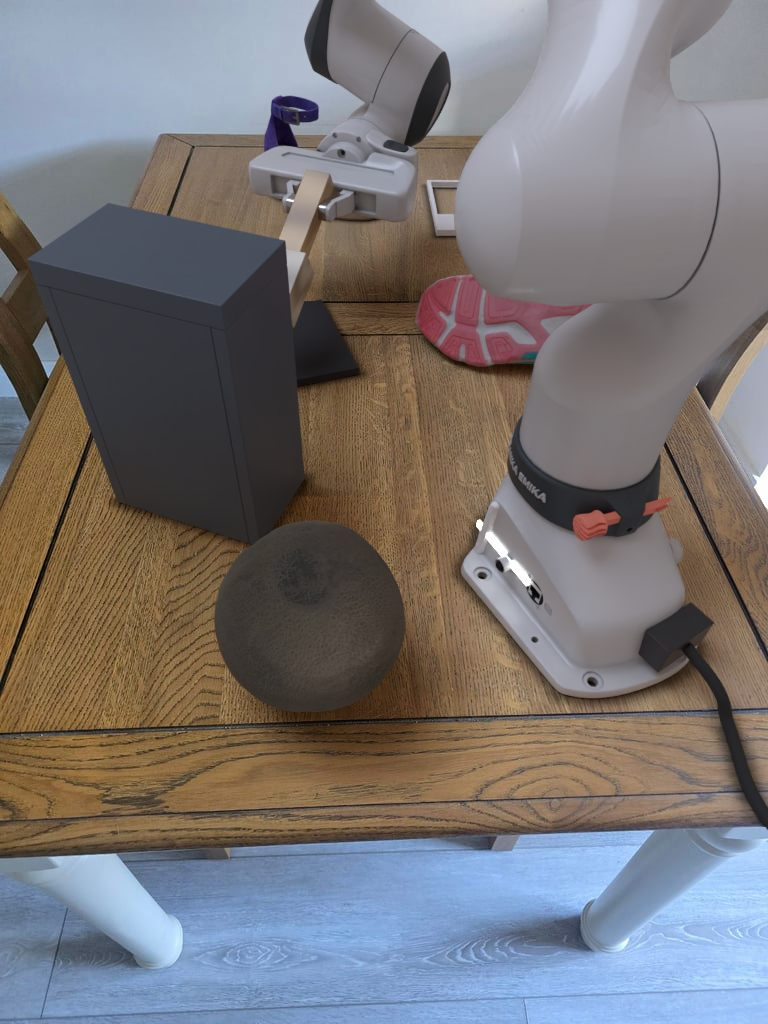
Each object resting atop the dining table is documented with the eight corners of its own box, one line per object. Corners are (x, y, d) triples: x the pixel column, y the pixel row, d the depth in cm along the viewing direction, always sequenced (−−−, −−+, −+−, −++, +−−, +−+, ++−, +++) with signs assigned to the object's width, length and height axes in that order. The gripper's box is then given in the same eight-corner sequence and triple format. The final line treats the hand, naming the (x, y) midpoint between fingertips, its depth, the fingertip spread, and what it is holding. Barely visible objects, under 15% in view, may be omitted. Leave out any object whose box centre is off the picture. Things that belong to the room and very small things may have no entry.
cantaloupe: (217, 753, 54) (180, 650, 42) (239, 599, 63) (213, 482, 52) (402, 752, 54) (414, 649, 43) (396, 599, 64) (405, 483, 52)
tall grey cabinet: (171, 439, 77) (108, 202, 58) (305, 478, 74) (285, 240, 54) (117, 502, 71) (26, 258, 51) (260, 547, 67) (221, 305, 48)
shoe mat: (358, 374, 86) (358, 367, 85) (278, 390, 83) (277, 383, 82) (321, 305, 96) (321, 298, 95) (248, 317, 93) (247, 311, 92)
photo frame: (436, 228, 109) (426, 178, 121) (436, 235, 109) (426, 185, 121) (530, 229, 109) (511, 179, 121) (529, 236, 110) (510, 186, 122)
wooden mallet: (299, 180, 83) (290, 156, 79) (346, 189, 81) (339, 165, 78) (246, 316, 80) (233, 298, 76) (294, 328, 78) (283, 310, 74)
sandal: (363, 229, 110) (364, 126, 99) (261, 198, 117) (250, 98, 106) (389, 210, 115) (393, 109, 104) (289, 181, 121) (282, 83, 110)
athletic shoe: (631, 370, 89) (633, 271, 87) (635, 366, 80) (638, 257, 79) (426, 378, 97) (424, 288, 95) (409, 376, 88) (407, 276, 86)
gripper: (275, 124, 88) (220, 166, 80) (430, 151, 84) (390, 199, 75) (279, 175, 93) (228, 221, 84) (426, 204, 89) (388, 255, 80)
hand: (306, 211), depth 80 cm, fingers closed on wooden mallet, 3 cm apart
